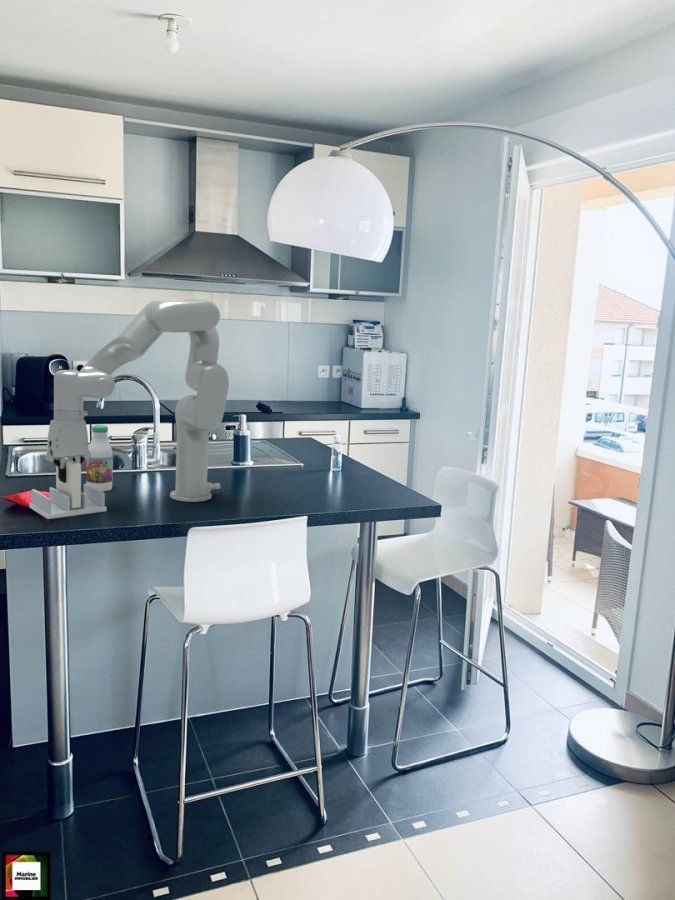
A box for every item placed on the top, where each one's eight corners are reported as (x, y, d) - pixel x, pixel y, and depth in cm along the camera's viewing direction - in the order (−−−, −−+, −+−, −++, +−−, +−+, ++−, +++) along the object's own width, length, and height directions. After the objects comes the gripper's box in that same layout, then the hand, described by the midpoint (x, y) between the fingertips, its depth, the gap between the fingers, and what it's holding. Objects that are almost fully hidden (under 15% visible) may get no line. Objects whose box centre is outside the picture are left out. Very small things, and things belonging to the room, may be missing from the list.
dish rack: (86, 500, 219) (86, 483, 218) (106, 511, 209) (106, 493, 208) (29, 507, 207) (29, 489, 206) (47, 519, 198) (47, 500, 197)
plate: (64, 497, 213) (64, 456, 210) (80, 506, 205) (81, 464, 203) (56, 498, 211) (56, 457, 209) (72, 508, 203) (72, 465, 201)
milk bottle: (85, 486, 234) (86, 423, 230) (111, 486, 237) (112, 424, 233) (86, 492, 227) (87, 428, 223) (113, 492, 230) (114, 428, 226)
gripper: (90, 412, 211) (90, 475, 215) (33, 414, 201) (33, 481, 204) (102, 416, 206) (101, 481, 209) (44, 419, 195) (44, 487, 199)
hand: (68, 480), depth 207 cm, fingers closed on plate, 2 cm apart
